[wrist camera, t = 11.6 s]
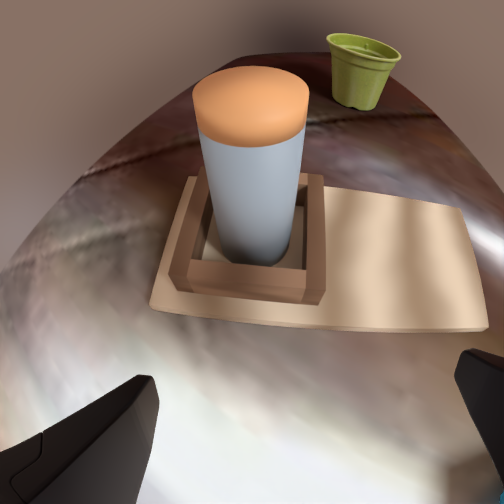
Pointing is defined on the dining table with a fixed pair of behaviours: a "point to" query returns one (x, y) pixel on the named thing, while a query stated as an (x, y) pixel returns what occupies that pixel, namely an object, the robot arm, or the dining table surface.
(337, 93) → the plant pot
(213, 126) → the orange-capped blue cylinder
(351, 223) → the jig
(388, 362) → the dining table surface
